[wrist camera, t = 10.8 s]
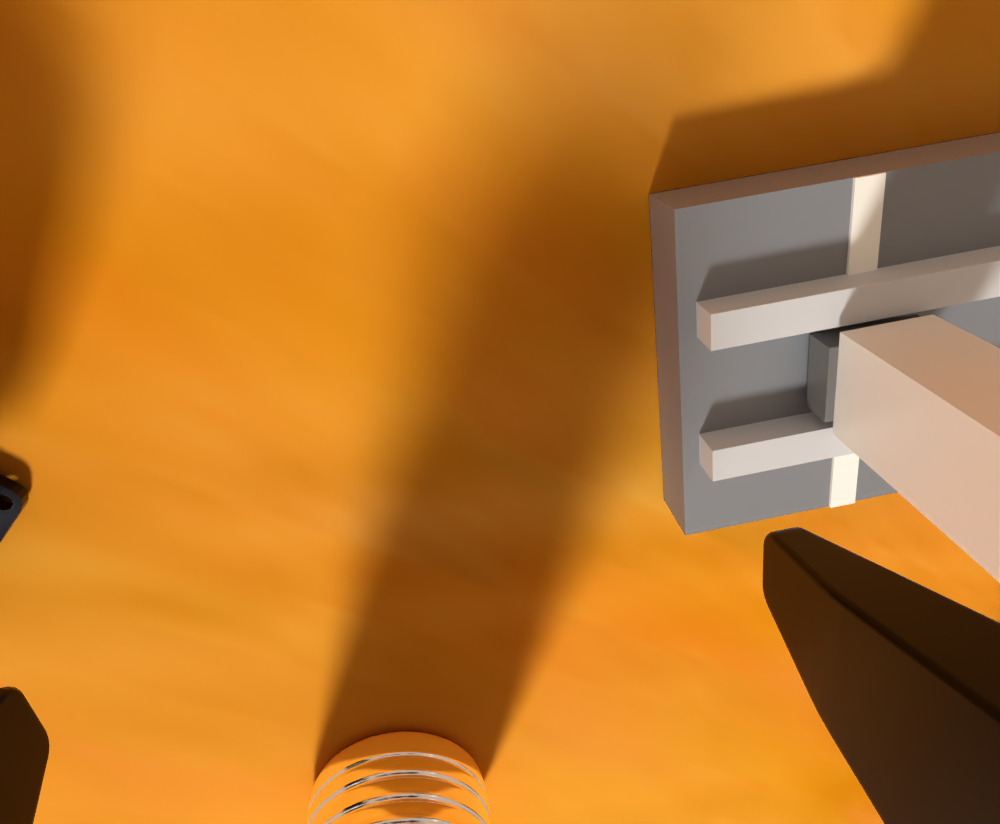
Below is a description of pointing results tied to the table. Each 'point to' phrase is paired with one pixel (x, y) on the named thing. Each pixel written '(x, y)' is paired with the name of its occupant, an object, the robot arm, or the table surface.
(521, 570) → the table surface
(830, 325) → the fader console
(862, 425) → the fader tab
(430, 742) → the water bottle
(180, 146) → the table surface
